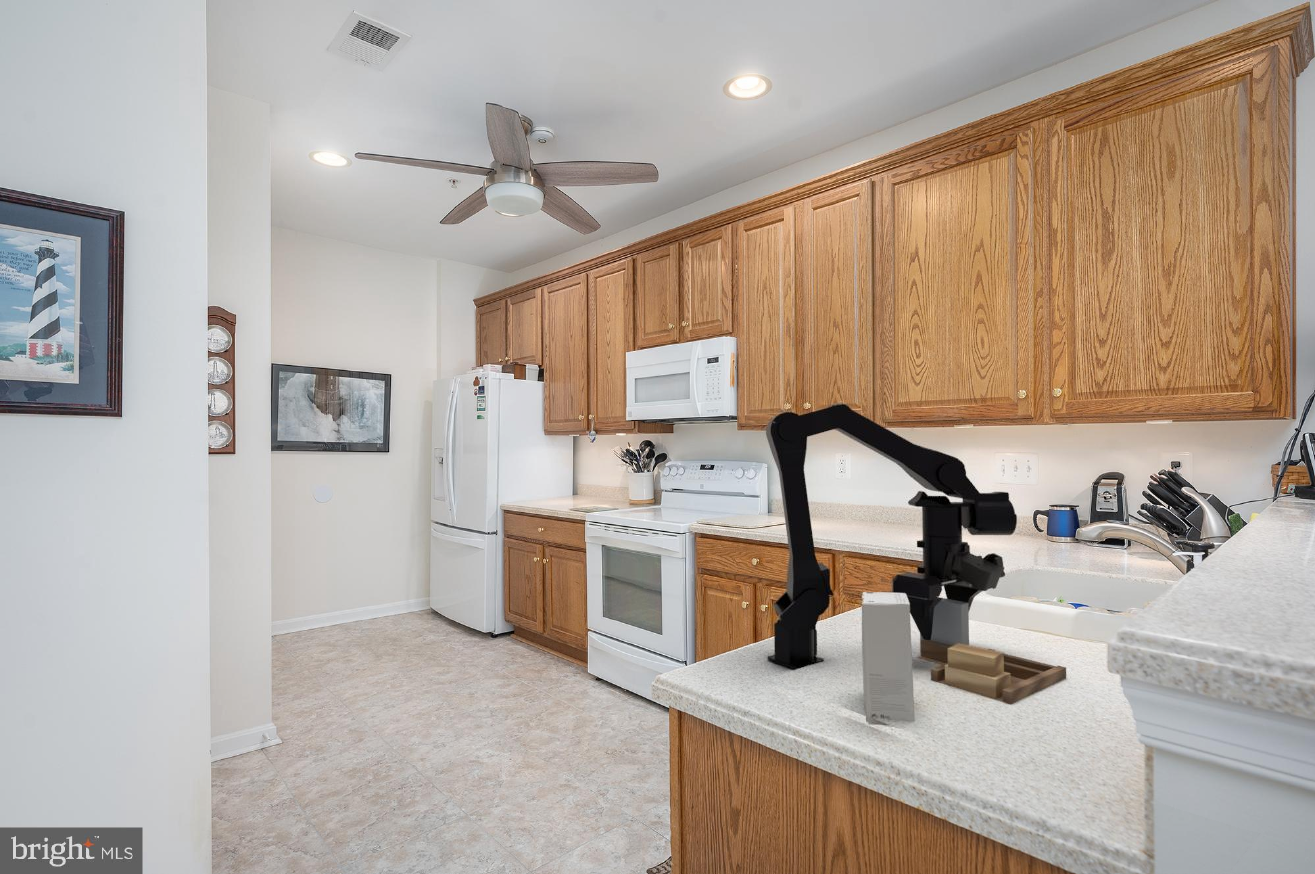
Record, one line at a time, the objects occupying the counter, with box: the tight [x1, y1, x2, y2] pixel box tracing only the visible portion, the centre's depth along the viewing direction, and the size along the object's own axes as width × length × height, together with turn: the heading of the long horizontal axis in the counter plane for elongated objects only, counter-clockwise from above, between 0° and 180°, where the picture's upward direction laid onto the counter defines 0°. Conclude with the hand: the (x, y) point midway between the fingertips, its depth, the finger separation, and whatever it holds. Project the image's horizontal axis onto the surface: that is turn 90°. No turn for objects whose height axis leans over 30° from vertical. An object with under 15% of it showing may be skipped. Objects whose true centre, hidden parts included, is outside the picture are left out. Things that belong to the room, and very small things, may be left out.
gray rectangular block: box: [919, 596, 970, 654], centre depth 102 cm, size 2×7×9 cm, turn 35°
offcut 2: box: [944, 665, 1011, 700], centre depth 89 cm, size 4×7×2 cm, turn 36°
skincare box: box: [861, 591, 916, 726], centre depth 83 cm, size 8×6×15 cm
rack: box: [930, 648, 1067, 705], centre depth 92 cm, size 16×11×2 cm
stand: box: [916, 639, 952, 666], centre depth 102 cm, size 7×5×4 cm
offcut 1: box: [948, 643, 1005, 677], centre depth 89 cm, size 4×6×2 cm, turn 44°
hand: (943, 634), depth 102 cm, fingers open, 9 cm apart
